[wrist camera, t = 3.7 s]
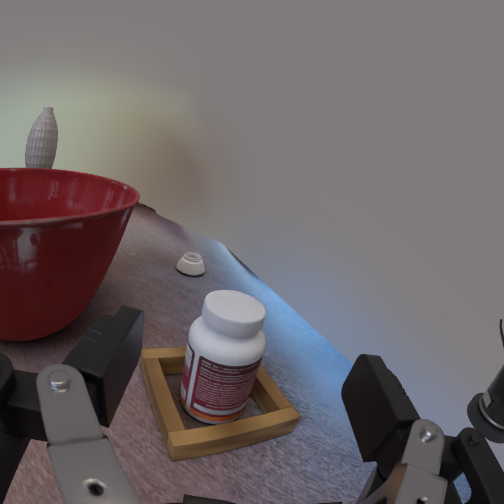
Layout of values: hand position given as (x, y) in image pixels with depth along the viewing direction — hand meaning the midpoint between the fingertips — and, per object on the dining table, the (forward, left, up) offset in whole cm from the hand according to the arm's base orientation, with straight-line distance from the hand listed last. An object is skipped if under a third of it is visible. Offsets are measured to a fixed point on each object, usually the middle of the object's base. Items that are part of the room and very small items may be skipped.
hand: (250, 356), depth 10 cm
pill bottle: (-5, -10, -15) cm, 19 cm away
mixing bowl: (+15, -26, -15) cm, 34 cm away
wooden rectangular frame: (-5, -10, -15) cm, 19 cm away
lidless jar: (-12, -39, -15) cm, 44 cm away
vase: (+31, -109, -15) cm, 114 cm away
